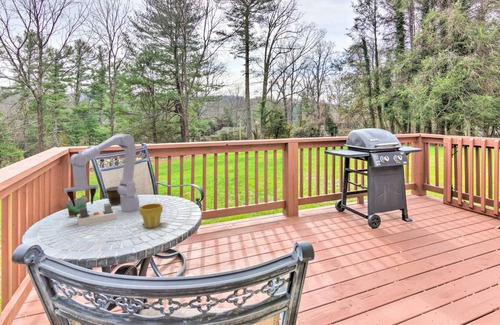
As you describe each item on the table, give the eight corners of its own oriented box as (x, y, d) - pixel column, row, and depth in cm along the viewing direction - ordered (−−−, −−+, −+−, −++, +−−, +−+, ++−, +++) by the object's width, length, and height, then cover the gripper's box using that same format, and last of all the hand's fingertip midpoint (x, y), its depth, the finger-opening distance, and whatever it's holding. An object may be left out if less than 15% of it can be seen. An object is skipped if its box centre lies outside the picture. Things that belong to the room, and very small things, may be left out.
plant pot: (144, 222, 147) (143, 203, 145) (165, 221, 147) (164, 202, 146) (138, 229, 136) (136, 209, 135) (160, 228, 137) (159, 208, 136)
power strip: (113, 215, 157) (113, 207, 156) (116, 221, 149) (115, 212, 148) (77, 222, 148) (76, 213, 148) (78, 228, 140) (77, 218, 139)
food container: (77, 219, 152) (75, 201, 150) (67, 219, 153) (65, 201, 152) (94, 212, 164) (92, 195, 162) (84, 211, 165) (83, 194, 164)
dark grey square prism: (87, 220, 148) (86, 207, 147) (88, 222, 144) (87, 209, 143) (81, 221, 146) (79, 208, 145) (81, 224, 142) (80, 210, 141)
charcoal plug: (111, 215, 154) (110, 203, 153) (112, 218, 150) (111, 205, 149) (105, 217, 152) (103, 204, 151) (106, 219, 149) (104, 206, 148)
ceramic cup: (119, 200, 187) (117, 185, 185) (128, 203, 181) (126, 187, 180) (99, 205, 177) (97, 189, 175) (107, 208, 171) (106, 192, 169)
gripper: (62, 181, 135) (66, 209, 137) (97, 177, 143) (100, 204, 145) (63, 179, 141) (66, 205, 143) (96, 175, 149) (98, 201, 151)
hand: (83, 204), depth 144 cm, fingers open, 7 cm apart
